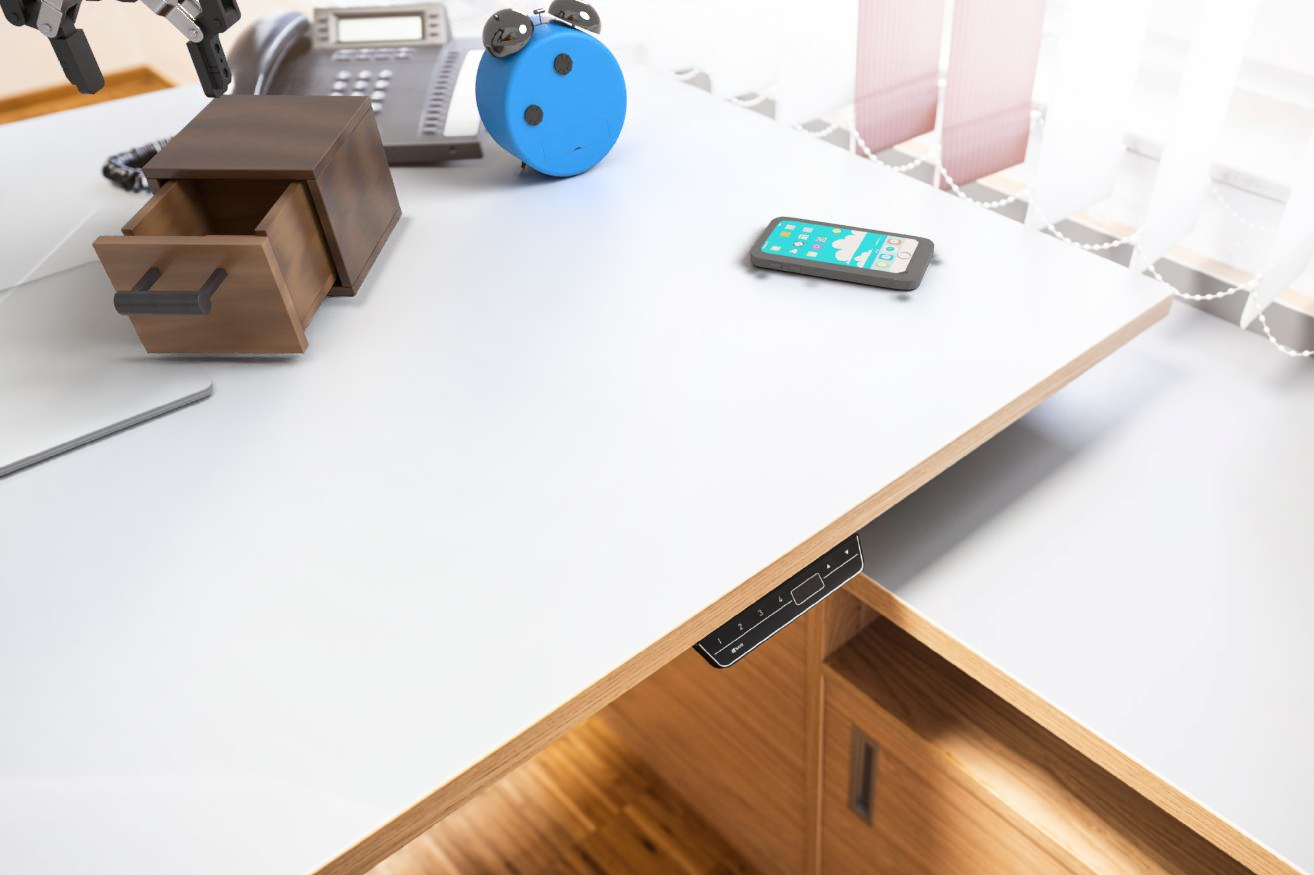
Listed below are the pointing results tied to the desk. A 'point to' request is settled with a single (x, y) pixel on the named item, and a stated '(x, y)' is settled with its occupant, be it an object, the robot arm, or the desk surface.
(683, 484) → the desk surface
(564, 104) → the alarm clock
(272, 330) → the drawer
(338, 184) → the cabinet
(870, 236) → the smartphone
